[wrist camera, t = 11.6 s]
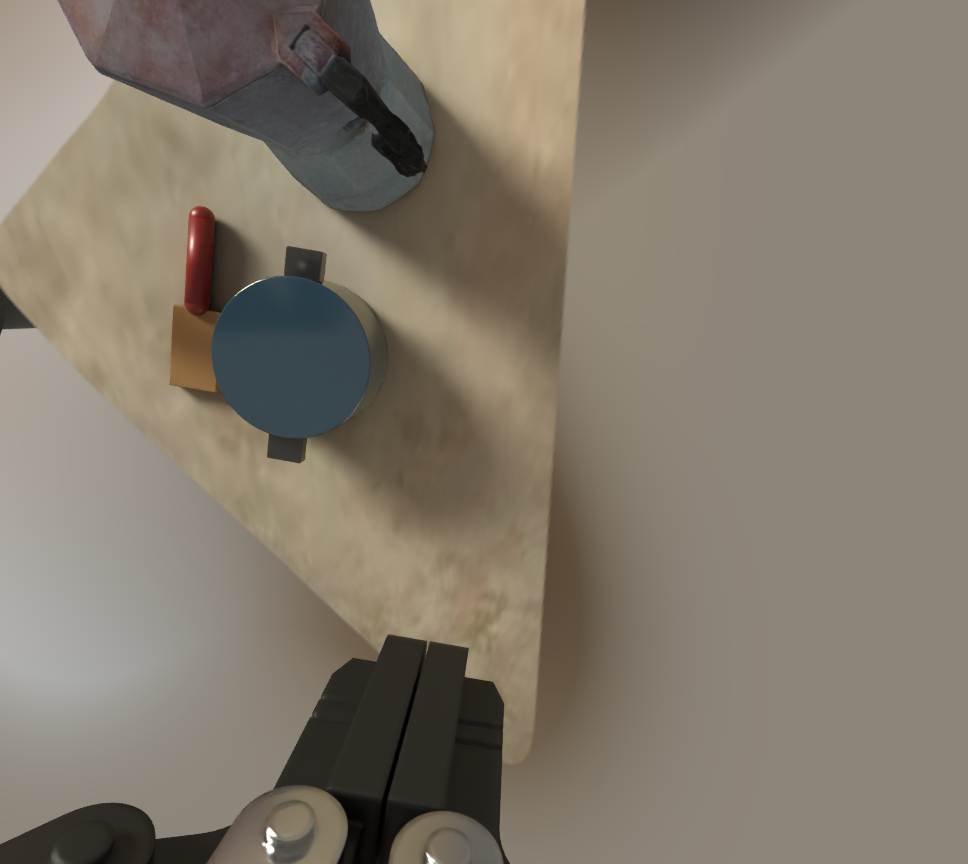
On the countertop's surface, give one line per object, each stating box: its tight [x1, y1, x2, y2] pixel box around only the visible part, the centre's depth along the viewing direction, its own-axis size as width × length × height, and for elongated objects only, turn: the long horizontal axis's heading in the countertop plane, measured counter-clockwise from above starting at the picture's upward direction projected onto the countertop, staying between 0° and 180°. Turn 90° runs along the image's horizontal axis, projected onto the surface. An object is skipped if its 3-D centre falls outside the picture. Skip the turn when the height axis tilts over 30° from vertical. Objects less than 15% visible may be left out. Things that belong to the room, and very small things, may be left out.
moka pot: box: [58, 0, 434, 211], centre depth 24 cm, size 10×15×20 cm, turn 52°
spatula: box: [170, 206, 221, 392], centre depth 36 cm, size 11×3×1 cm, turn 171°
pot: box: [211, 246, 388, 463], centre depth 34 cm, size 9×12×4 cm
